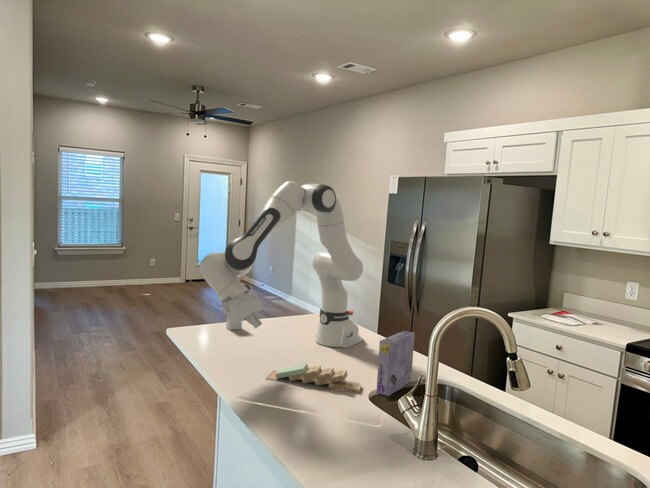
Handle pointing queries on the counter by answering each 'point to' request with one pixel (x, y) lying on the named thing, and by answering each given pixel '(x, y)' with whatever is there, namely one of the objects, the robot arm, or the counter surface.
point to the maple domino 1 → (307, 373)
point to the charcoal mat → (296, 382)
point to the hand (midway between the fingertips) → (259, 326)
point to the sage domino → (291, 371)
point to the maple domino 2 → (320, 376)
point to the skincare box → (231, 326)
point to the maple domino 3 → (333, 378)
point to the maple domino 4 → (345, 386)
